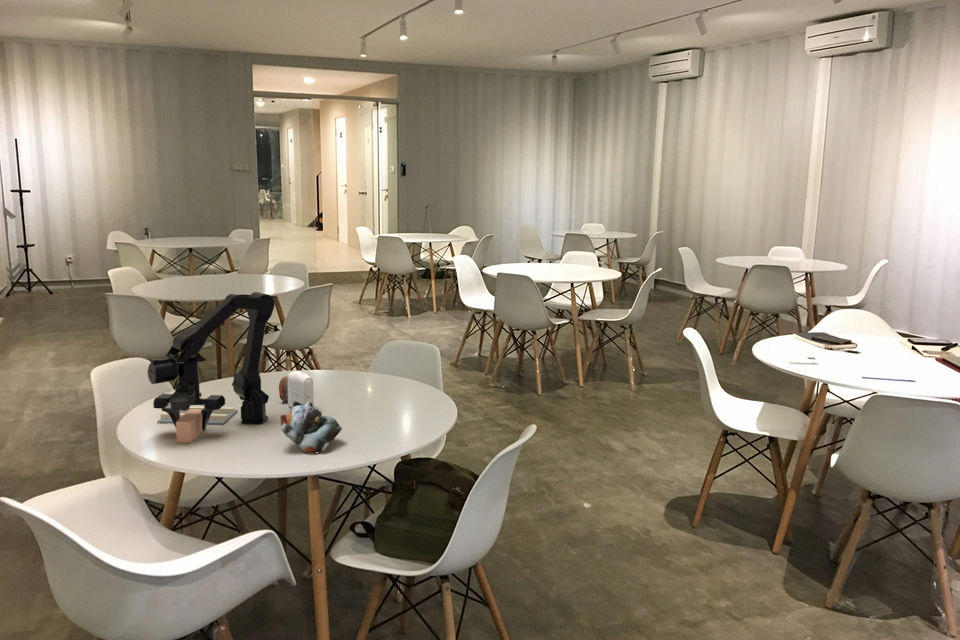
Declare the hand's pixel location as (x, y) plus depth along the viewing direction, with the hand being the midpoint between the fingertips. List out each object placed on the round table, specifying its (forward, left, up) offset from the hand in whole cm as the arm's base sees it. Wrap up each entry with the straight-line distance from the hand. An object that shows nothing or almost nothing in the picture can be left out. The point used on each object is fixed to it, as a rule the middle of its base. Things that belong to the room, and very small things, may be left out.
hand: (191, 430), depth 220 cm
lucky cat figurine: (-36, +7, -2) cm, 37 cm away
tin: (-19, -39, -2) cm, 43 cm away
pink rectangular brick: (0, 0, -2) cm, 2 cm away
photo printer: (-25, -27, -2) cm, 37 cm away
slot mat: (+4, -16, -1) cm, 17 cm away
